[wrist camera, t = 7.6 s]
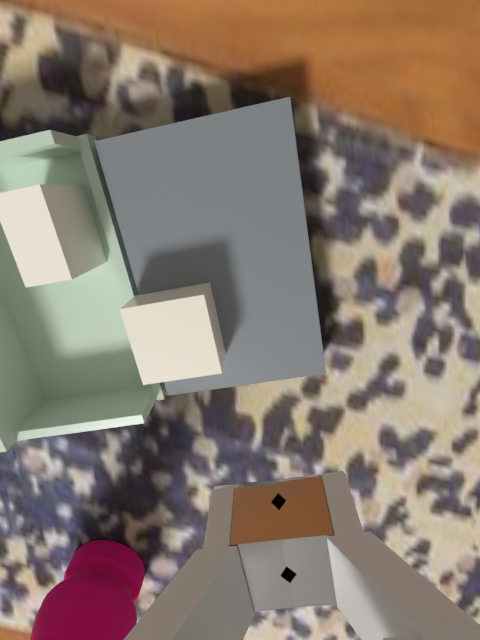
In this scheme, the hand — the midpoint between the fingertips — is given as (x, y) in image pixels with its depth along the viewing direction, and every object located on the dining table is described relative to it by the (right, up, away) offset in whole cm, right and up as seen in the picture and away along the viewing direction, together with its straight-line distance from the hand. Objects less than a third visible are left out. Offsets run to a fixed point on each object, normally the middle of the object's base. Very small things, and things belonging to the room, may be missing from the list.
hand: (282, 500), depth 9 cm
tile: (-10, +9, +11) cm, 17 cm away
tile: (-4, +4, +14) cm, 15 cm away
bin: (-12, +6, +15) cm, 20 cm away
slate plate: (-2, +8, +14) cm, 16 cm away
